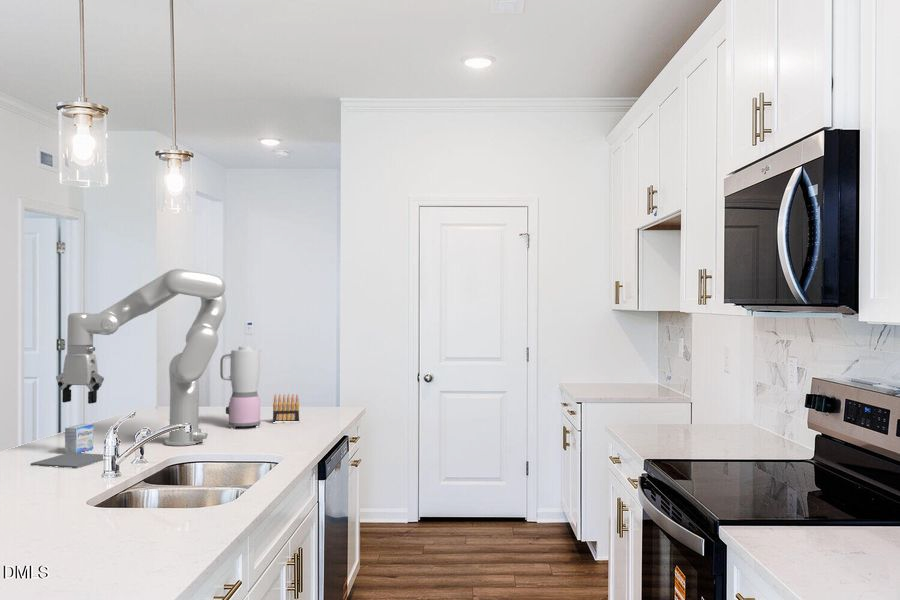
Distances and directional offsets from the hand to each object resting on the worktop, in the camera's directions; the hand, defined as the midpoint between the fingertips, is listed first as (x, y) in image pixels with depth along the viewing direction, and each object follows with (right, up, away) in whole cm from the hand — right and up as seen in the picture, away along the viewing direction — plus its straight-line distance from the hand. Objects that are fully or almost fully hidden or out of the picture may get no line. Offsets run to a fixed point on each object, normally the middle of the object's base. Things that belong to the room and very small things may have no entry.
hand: (79, 402), depth 229 cm
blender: (+38, -17, +49) cm, 64 cm away
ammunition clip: (+54, -18, +60) cm, 82 cm away
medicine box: (0, -16, 0) cm, 16 cm away
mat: (+5, -16, -13) cm, 22 cm away
